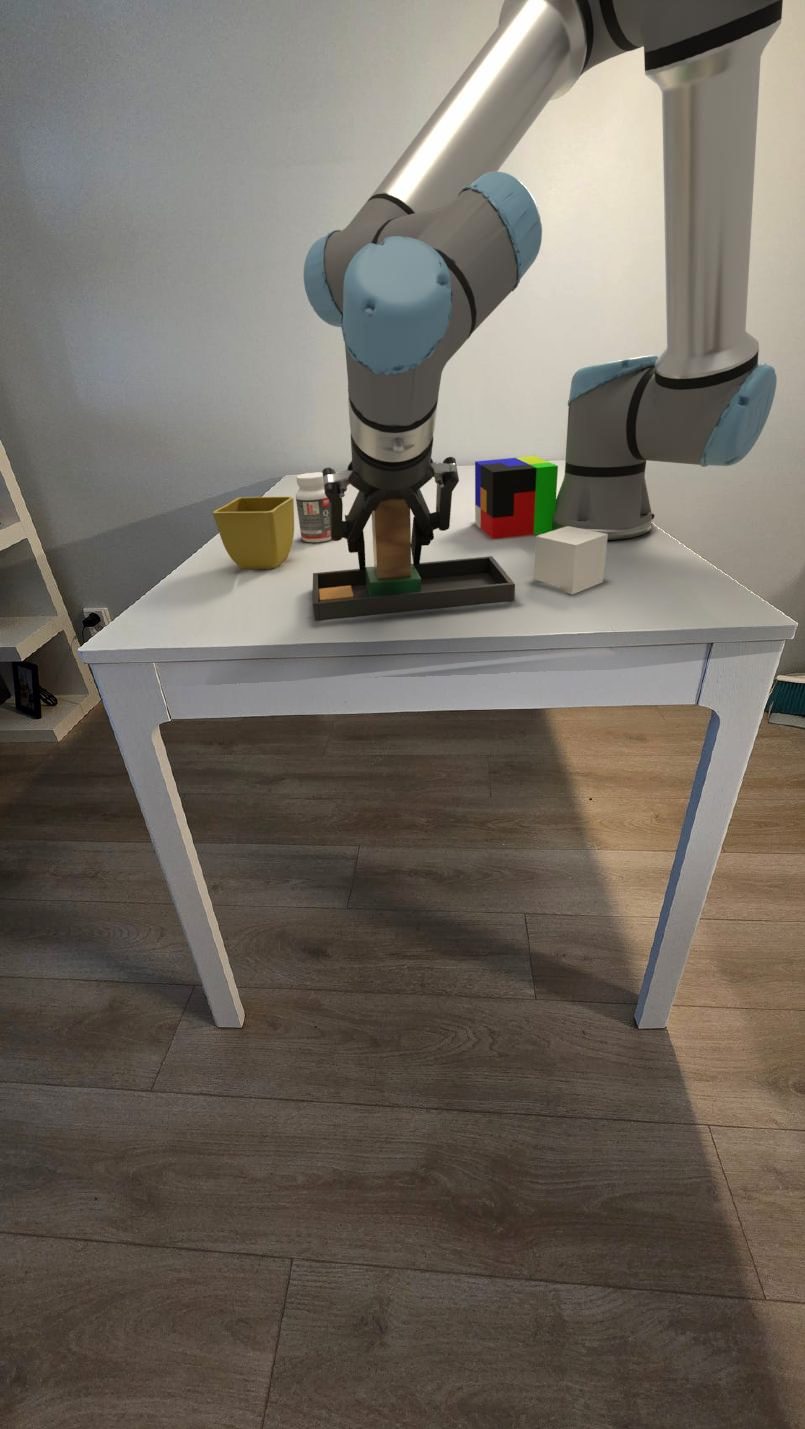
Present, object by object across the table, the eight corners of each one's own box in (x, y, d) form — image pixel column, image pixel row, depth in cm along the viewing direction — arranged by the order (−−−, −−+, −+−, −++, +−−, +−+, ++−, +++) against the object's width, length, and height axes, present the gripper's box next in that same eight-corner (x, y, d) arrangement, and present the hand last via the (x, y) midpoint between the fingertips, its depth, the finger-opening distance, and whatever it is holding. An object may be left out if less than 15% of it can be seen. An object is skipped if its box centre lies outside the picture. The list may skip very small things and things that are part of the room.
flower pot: (281, 577, 89) (271, 511, 85) (224, 576, 91) (210, 511, 86) (303, 557, 97) (294, 496, 92) (249, 557, 98) (238, 497, 94)
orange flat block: (352, 594, 80) (351, 585, 79) (354, 605, 76) (353, 596, 76) (319, 598, 79) (318, 588, 79) (320, 609, 76) (319, 599, 75)
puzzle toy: (475, 524, 108) (475, 461, 103) (532, 518, 109) (534, 455, 104) (492, 539, 99) (492, 472, 94) (553, 533, 101) (558, 465, 95)
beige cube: (533, 583, 81) (535, 536, 78) (564, 572, 84) (567, 525, 81) (572, 594, 77) (575, 544, 74) (603, 582, 80) (608, 533, 77)
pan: (491, 575, 84) (491, 556, 83) (514, 605, 75) (515, 583, 74) (315, 592, 83) (312, 573, 81) (315, 625, 73) (312, 603, 72)
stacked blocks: (413, 583, 81) (412, 488, 75) (421, 599, 76) (420, 499, 70) (366, 586, 80) (361, 491, 75) (370, 602, 75) (365, 501, 69)
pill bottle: (334, 542, 103) (326, 477, 98) (299, 544, 103) (289, 479, 98) (338, 532, 108) (331, 470, 103) (304, 534, 108) (295, 473, 103)
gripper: (289, 476, 56) (314, 592, 78) (503, 458, 57) (468, 577, 79) (282, 404, 58) (309, 537, 80) (489, 387, 59) (459, 523, 81)
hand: (388, 557), depth 80 cm, fingers closed on stacked blocks, 6 cm apart
